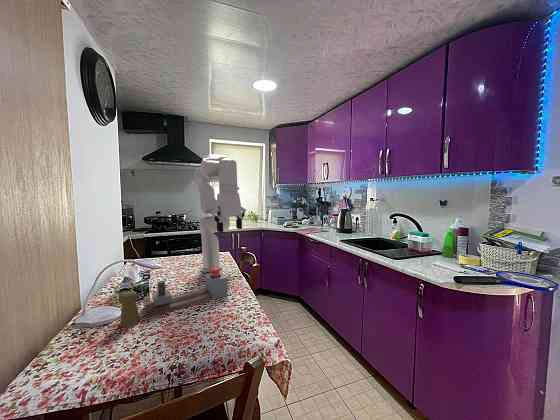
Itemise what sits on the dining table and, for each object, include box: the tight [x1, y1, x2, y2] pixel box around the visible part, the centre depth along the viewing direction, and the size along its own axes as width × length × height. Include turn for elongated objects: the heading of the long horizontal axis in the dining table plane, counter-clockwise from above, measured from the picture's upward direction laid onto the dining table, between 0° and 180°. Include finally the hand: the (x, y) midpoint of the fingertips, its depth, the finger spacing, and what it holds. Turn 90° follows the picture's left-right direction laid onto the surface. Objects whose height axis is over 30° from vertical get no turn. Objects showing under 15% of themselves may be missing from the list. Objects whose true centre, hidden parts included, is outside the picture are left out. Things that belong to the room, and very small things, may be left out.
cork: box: [119, 290, 141, 328], centre depth 82 cm, size 6×6×11 cm
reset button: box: [209, 267, 222, 278], centre depth 105 cm, size 5×5×4 cm
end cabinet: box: [204, 271, 229, 300], centre depth 105 cm, size 10×7×8 cm
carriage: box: [151, 280, 172, 306], centre depth 93 cm, size 7×6×8 cm
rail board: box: [143, 288, 212, 318], centre depth 96 cm, size 10×24×4 cm, turn 124°
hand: (230, 230), depth 98 cm, fingers open, 9 cm apart
